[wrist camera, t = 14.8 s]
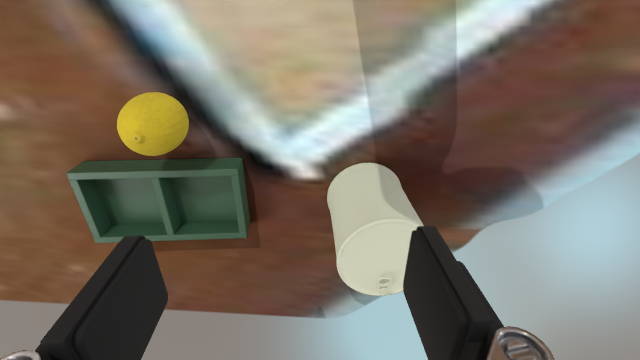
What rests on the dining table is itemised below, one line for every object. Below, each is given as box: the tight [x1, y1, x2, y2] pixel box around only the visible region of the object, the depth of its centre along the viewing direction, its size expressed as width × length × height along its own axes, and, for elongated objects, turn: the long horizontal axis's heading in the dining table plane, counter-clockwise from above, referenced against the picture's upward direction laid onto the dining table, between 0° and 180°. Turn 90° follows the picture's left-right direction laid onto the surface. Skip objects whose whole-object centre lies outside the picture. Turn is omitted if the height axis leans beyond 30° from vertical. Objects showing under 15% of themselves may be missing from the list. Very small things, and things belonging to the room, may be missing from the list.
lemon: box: [117, 92, 189, 156], centre depth 29 cm, size 6×6×8 cm
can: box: [327, 163, 424, 296], centre depth 34 cm, size 9×9×12 cm
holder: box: [66, 158, 250, 243], centre depth 36 cm, size 9×17×3 cm, turn 90°
